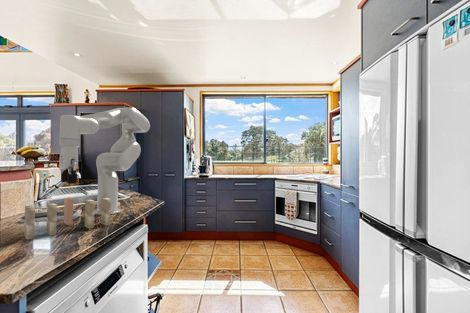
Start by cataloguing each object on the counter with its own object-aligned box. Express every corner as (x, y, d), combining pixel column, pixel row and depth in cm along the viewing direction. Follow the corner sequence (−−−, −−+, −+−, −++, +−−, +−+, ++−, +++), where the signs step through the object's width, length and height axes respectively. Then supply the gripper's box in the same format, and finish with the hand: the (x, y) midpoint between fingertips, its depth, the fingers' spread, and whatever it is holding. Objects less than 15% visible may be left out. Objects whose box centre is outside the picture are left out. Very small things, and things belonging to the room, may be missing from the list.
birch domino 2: (52, 231, 96) (53, 203, 96) (56, 234, 93) (56, 204, 93) (46, 232, 94) (47, 203, 95) (49, 235, 91) (50, 205, 91)
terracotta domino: (69, 222, 110) (69, 197, 110) (72, 224, 107) (73, 198, 107) (63, 222, 109) (64, 197, 109) (67, 225, 105) (67, 199, 106)
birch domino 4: (105, 222, 111) (106, 197, 111) (110, 224, 107) (110, 199, 107) (101, 223, 109) (101, 198, 109) (105, 225, 106) (106, 199, 106)
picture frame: (20, 224, 108) (75, 220, 116) (20, 217, 108) (75, 214, 116) (33, 216, 123) (81, 213, 131) (33, 210, 123) (81, 208, 131)
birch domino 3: (89, 225, 106) (90, 199, 106) (94, 227, 102) (94, 200, 103) (84, 226, 104) (85, 200, 104) (88, 228, 101) (89, 201, 101)
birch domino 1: (31, 235, 91) (32, 205, 91) (34, 238, 88) (35, 207, 88) (24, 236, 90) (25, 206, 90) (26, 239, 86) (27, 208, 86)
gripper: (54, 143, 111) (53, 181, 111) (65, 142, 100) (64, 184, 99) (73, 144, 117) (72, 181, 116) (86, 143, 105) (85, 183, 105)
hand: (68, 182), depth 108 cm, fingers open, 9 cm apart
